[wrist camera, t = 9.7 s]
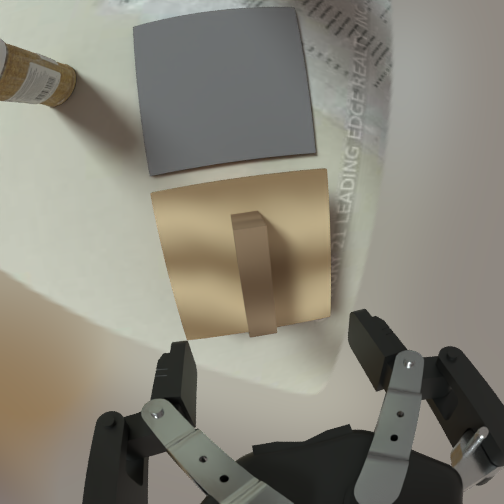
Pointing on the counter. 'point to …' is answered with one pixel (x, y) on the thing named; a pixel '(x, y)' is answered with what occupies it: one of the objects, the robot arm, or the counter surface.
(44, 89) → the sprinkles bottle
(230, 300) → the board
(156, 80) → the rubber mat
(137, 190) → the counter surface
